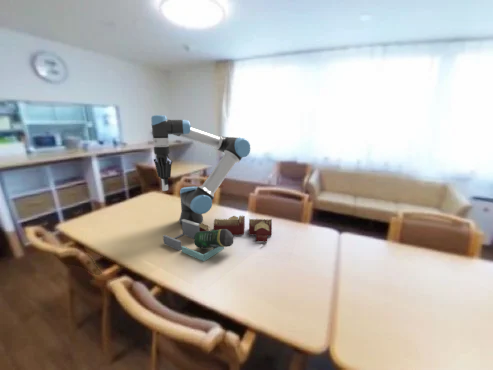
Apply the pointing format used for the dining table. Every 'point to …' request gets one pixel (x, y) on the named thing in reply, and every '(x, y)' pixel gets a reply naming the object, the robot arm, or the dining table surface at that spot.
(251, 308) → the dining table surface
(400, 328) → the dining table surface
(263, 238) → the toy houses
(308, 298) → the dining table surface
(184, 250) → the teal u-shaped frame
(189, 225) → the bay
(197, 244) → the coffee jar
